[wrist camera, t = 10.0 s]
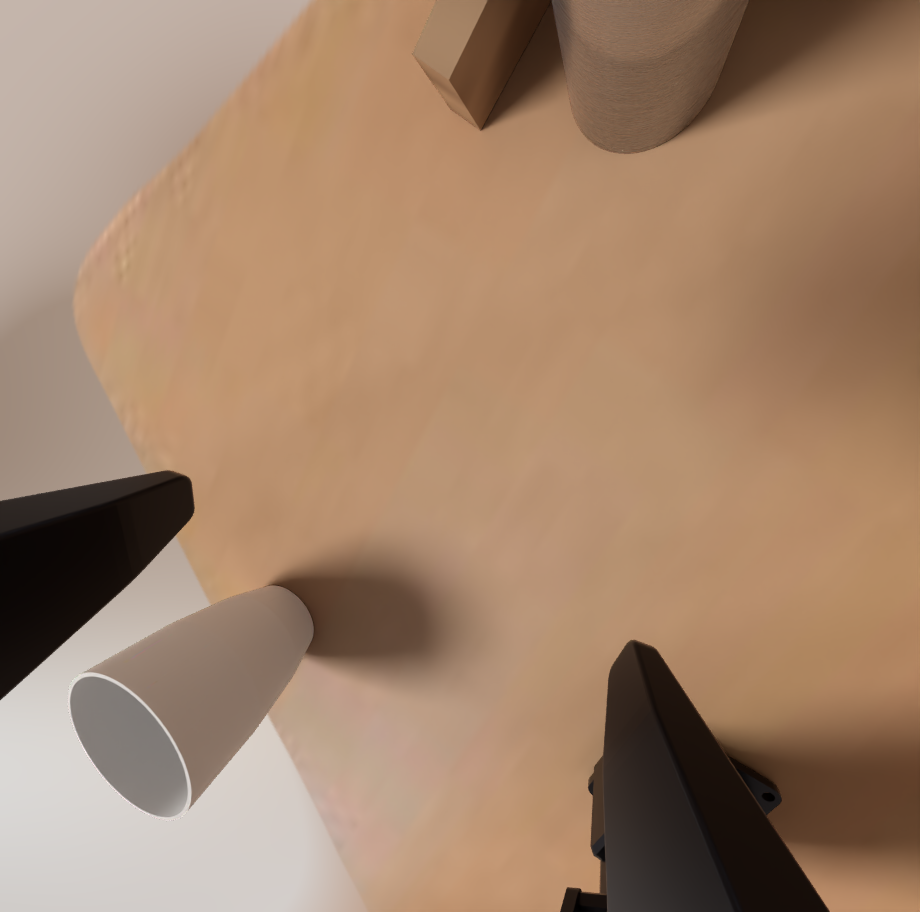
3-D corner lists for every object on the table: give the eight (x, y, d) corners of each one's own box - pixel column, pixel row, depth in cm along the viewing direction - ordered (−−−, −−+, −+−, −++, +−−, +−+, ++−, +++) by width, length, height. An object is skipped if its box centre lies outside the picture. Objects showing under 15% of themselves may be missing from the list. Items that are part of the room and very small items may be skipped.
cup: (223, 610, 30) (55, 724, 21) (264, 540, 27) (85, 641, 18) (301, 688, 29) (161, 843, 20) (353, 627, 26) (213, 778, 17)
